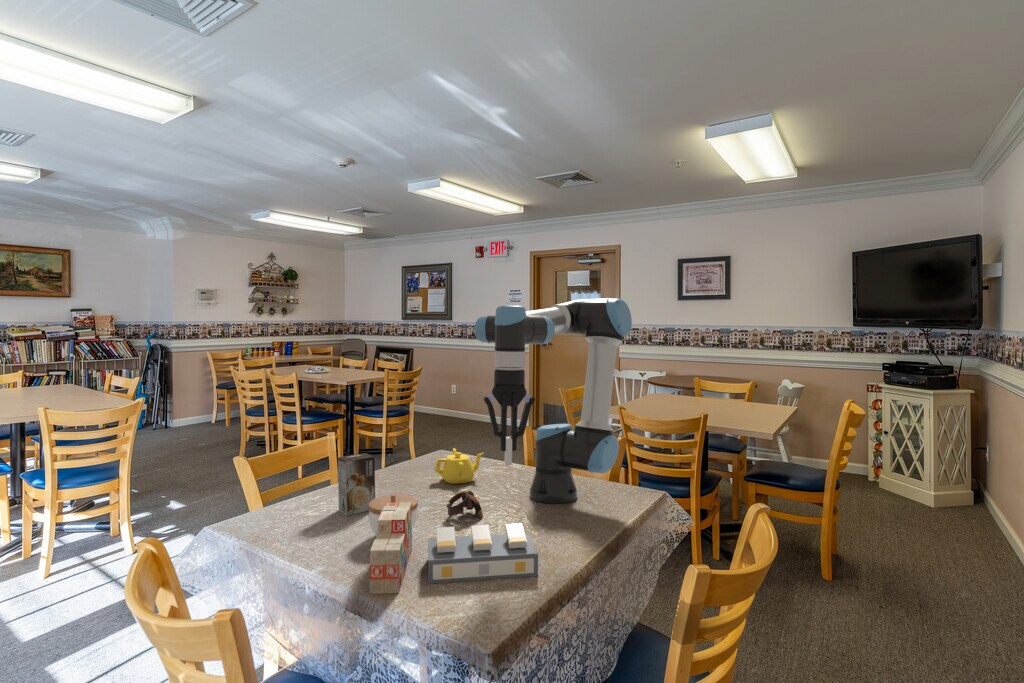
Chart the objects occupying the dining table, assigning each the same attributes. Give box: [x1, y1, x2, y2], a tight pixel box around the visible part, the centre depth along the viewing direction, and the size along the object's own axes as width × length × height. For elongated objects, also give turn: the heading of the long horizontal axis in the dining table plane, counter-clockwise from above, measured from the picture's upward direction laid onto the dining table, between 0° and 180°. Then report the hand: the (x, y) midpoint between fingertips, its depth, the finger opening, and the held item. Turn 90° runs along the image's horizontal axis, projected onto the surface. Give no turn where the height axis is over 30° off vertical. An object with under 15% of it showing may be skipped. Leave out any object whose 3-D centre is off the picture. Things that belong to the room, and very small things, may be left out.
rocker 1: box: [436, 526, 456, 553], centre depth 121 cm, size 4×7×2 cm, turn 9°
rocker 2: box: [470, 524, 492, 551], centre depth 122 cm, size 4×7×2 cm, turn 9°
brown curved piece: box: [446, 490, 484, 520], centre depth 156 cm, size 12×10×8 cm
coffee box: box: [337, 452, 376, 517], centre depth 160 cm, size 9×6×16 cm
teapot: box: [434, 447, 485, 485], centre depth 191 cm, size 14×13×10 cm
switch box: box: [427, 532, 539, 584], centre depth 123 cm, size 24×12×6 cm, turn 99°
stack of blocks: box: [368, 502, 413, 595], centre depth 121 cm, size 21×6×12 cm, turn 4°
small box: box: [504, 522, 527, 548], centre depth 124 cm, size 4×7×2 cm, turn 9°
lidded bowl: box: [368, 493, 419, 536], centre depth 140 cm, size 13×13×11 cm
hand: (508, 463), depth 132 cm, fingers closed
